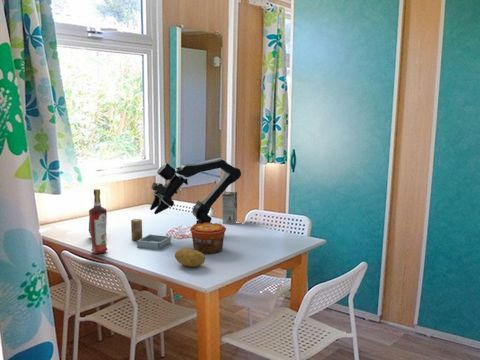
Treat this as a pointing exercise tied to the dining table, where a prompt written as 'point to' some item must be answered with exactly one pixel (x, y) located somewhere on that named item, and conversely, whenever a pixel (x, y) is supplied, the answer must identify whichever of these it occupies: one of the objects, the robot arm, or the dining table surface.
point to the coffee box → (229, 207)
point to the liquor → (98, 225)
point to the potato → (189, 257)
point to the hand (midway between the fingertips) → (152, 211)
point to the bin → (154, 242)
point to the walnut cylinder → (136, 229)
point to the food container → (208, 237)
